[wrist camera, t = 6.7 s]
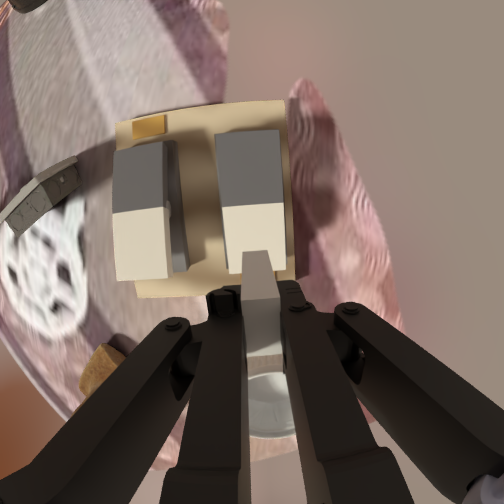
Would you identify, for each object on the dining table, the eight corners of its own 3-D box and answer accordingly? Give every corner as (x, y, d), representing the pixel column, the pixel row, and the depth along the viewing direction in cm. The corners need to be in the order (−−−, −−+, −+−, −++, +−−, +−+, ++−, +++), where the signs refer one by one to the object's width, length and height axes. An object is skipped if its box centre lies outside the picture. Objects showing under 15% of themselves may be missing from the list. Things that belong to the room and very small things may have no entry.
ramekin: (207, 384, 36) (201, 419, 29) (258, 320, 33) (261, 353, 26) (281, 415, 38) (285, 448, 31) (336, 360, 35) (351, 393, 28)
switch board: (122, 125, 26) (107, 120, 23) (281, 104, 26) (286, 94, 23) (143, 291, 32) (132, 305, 28) (292, 281, 32) (298, 295, 28)
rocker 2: (218, 135, 22) (215, 134, 20) (275, 131, 22) (279, 129, 20) (230, 263, 27) (229, 274, 24) (282, 259, 27) (285, 269, 24)
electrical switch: (78, 153, 27) (32, 159, 18) (94, 189, 29) (50, 204, 20) (34, 191, 28) (-10, 206, 19) (49, 223, 30) (7, 245, 21)
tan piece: (131, 420, 39) (106, 483, 24) (77, 381, 36) (38, 438, 22) (172, 383, 36) (147, 464, 21) (106, 334, 34) (55, 403, 19)
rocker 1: (124, 158, 24) (113, 151, 22) (169, 150, 24) (162, 141, 22) (128, 278, 25) (116, 280, 22) (175, 275, 25) (167, 278, 22)
